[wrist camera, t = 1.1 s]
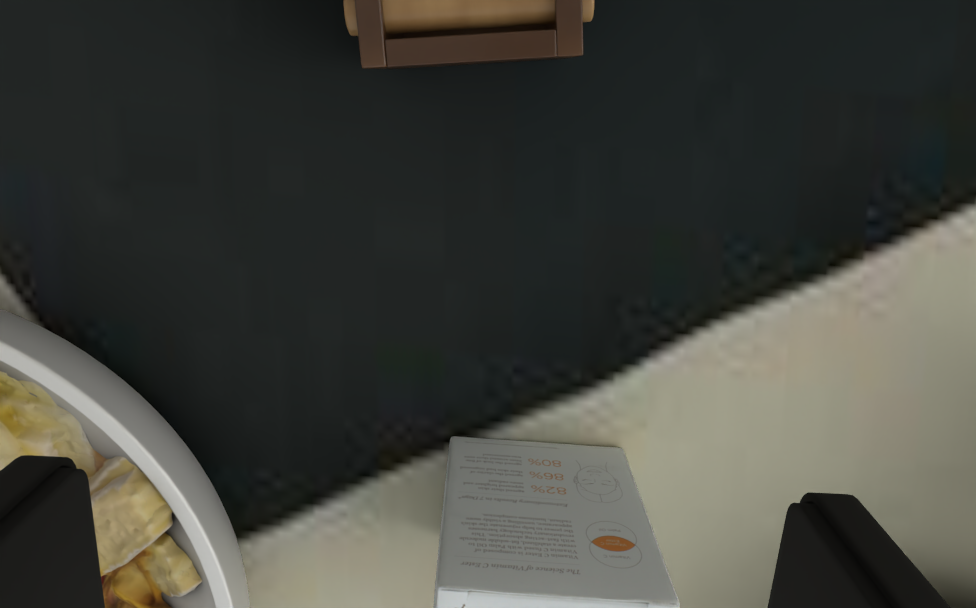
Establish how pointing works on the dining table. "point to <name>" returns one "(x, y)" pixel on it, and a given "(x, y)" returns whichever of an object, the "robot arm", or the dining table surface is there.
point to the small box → (545, 530)
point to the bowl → (120, 474)
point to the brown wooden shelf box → (465, 31)
